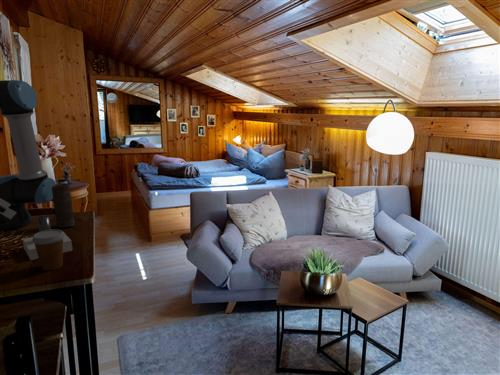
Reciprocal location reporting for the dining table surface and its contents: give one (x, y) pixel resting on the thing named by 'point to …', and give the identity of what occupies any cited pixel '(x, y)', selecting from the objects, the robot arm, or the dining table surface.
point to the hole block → (32, 251)
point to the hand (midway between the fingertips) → (10, 211)
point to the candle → (63, 205)
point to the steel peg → (44, 223)
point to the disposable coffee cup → (49, 248)
